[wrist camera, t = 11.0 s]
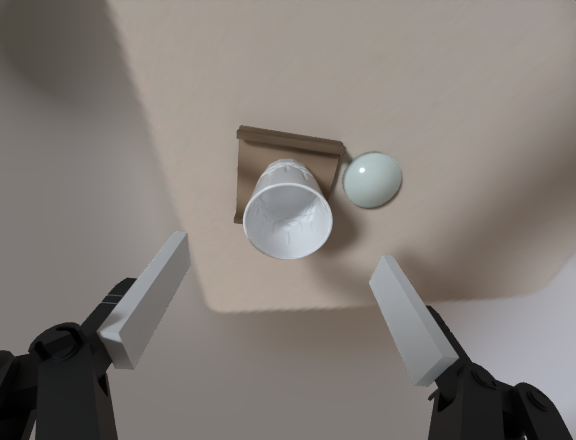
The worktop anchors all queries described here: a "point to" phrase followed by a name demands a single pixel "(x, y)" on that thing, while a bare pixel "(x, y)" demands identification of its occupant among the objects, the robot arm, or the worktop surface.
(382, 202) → the pale mint domed disc
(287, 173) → the white cup
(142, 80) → the worktop surface
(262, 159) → the stand
